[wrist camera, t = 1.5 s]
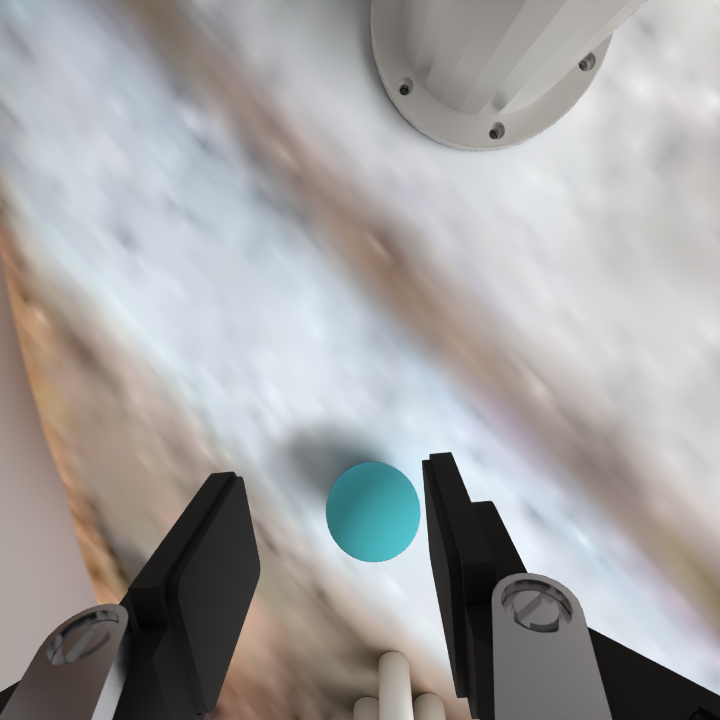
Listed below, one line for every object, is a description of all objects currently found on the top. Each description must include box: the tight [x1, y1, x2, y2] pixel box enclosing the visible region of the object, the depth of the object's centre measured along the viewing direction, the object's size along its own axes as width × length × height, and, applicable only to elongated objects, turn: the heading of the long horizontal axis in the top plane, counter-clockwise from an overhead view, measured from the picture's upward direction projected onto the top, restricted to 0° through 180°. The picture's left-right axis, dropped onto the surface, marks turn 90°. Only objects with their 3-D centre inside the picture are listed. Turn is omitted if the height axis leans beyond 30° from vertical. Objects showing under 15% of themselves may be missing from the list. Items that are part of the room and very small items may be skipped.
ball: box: [326, 462, 420, 562], centre depth 27 cm, size 6×6×6 cm
